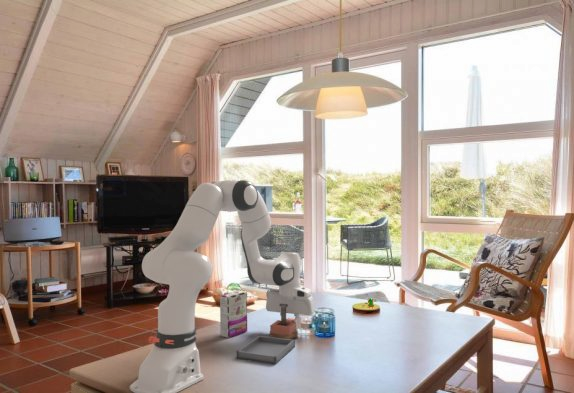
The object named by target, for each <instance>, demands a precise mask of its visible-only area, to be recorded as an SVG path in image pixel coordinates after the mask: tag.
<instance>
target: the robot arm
mask: <svg viewBox="0 0 574 393" xmlns="http://www.w3.org/2000/svg"><path fill="white" fill-rule="evenodd" d="M220 212H227V213H231V212H233V213H234V212H237V216H238V218H239V221H240V224H241V227H242V228H241V230H240V240H241V245H242V248H243V252H244V257H245V261H246V266H247V268H246V272H247V276H248V278H249V280H250V282H251V283H253V284H262V285H268V286H275V287H278V288H269V289H268V290H267V291H266V294H265V296H266V301H265V302H266V303H265V310H266V311H267V312H271V313H273V312H274V313H280V316H281V306H279V304H288V307H286V314H293V315H294V318H293V320H292V322H298V318H299V317H300V315H301V316H312V315H313V314H314V313H315V302H314V297H313V296H312V293H313V290H312V289H311V288H309V287H306V286H304V285H302V283H301V278H300V275H301V270H302V269H301V268H302V267H301V258H300V254H299V252H297V251H291V250H282V251H281V252H280V255H279V256H278V257H277V258H275V259H274V260H271V259H265V258H263V257H262V256H261V253H260V249H259V245H258V240H259V239H261V238H263V237H264V236H265V235H267V234H268V232H269V231H270V230H271V226H272V218H271V216H270V215H271V214H270V213H269V210H268V207H267V205H266V203H265V200H264V198H263V197H262V195H261V193H260V191H259V190H258V189H257V187H256V185H255V184H254V183H253V182H251V181H248V180H244V179H241V180H236V179H235V180H234V179H233V180H230V179H227V180H225V179H224V180H220V181H212V182H203V183H200V184H199V185H198V186H197V187H196V188H195V190H194V191H193V192H192V194H191V196H190V197H189V199H188V201H187V203H186V204H185V207H184V209H183V211H182V212H181V215H180V217H179V219H178V221H177V223H176V225H175V226H174V228H173V229H172V230H171V232H170V233H169V234H168V236H166V238H165V239H164V240H163V241H162V242H161V243H160V244H159V245H158V246H156V247H155V248H154V249H153V248H152V250H150V251H149V252H147V253H146V254H145V255H144V256H143V258H142V263H141V270H142V273H143V275H144V276H145V277H146V278H147V279H149V280H151V281H154V282H155V283H156V284H163V285H168V286H169V288H168V289H169V290H168V293H167V297H166V298H165V299H163V300H162V301H160V303H159V305H158V307H157V331H156V334H155V336H153V335H151V336H149V338H148V343H149V344H153V347H152V349H151V350H150V351H149V353H148V355H147V356H145V359H144V360H143V362H142V363H141V364H140V366H139V370H138V378H137V379H136V380H135V381H133V383H131V384H130V385H129V390H130V391H131V392H132V393H179V392H180V391H182V390H185V389H186V388H189V387H191V386H193V385H195V384H196V383H198V382H200V381H202V380H204V377H205V376H204V374H203V373H202V372H201V363H200V361H201V360H200V352H199V349H198V347H197V344H196V341H197V329H196V326H195V324H196V323H195V322H196V321H195V318H196V316H195V315H196V304H197V300H198V297H199V294H200V292H201V291H202V289H203V287H205V286H206V285H207V284H208V283H209V282H210V280H211V278H212V276H213V263H212V261H211V259H210V258H209V257H208V256H207V255H204V254H202V253H199V252H197V251H196V250H197V249H198V248H199V247H200V246H203V245H204V244H206V243H207V241H208V240H209V239H210V237H211V234H212V231H213V230H214V227H215V225H216V222H217V220H218V217H219V214H220Z"/></svg>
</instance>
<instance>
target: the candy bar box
mask: <svg viewBox="0 0 574 393" xmlns="http://www.w3.org/2000/svg"><path fill="white" fill-rule="evenodd" d="M247 292H248V291H243V290H238V291H232V292H229V293H225V294H221V295H219V307H220V308H219V314H220V315H219V317H220V319H219V320H220V322H219V324H220V325H219V326H220V327H219V328H220V330H219V331H220V337H223V338H226V339H230V338H233V337H236V336H239V335H242V334H244V333H247V332H248V293H247Z"/></svg>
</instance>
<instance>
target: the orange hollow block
mask: <svg viewBox="0 0 574 393" xmlns="http://www.w3.org/2000/svg"><path fill="white" fill-rule="evenodd" d="M293 319H294V317H293V318H291V317H287V318H286V326H282V325H281V319H279V320H278V319H277V320H276V321H274V322H272V324H270V325H269V329H270V330H269V334H270V333H274V334H282V335H291V334H292V333H293V332H294V331H295V330H297V326H298V325H297V322H298V321H297V322H292V320H293Z"/></svg>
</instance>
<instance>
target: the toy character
mask: <svg viewBox="0 0 574 393" xmlns="http://www.w3.org/2000/svg"><path fill="white" fill-rule="evenodd" d="M375 302H378V300H376V299H373V298H369V299H368V300H367V302H364V303H363V304H364V305H367V307H368V306H369V307H368V308H370V307H372V308H373V307H374V308H375V305H374V303H375Z"/></svg>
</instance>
